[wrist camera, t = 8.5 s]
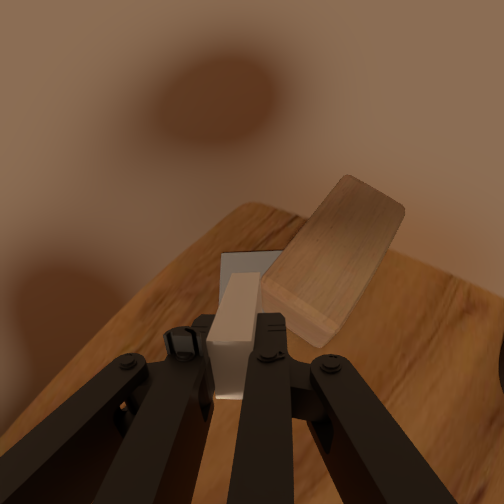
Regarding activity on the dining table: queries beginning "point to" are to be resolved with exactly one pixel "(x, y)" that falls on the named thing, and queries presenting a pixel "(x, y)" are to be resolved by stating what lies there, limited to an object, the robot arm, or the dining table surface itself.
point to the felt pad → (244, 265)
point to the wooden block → (331, 260)
